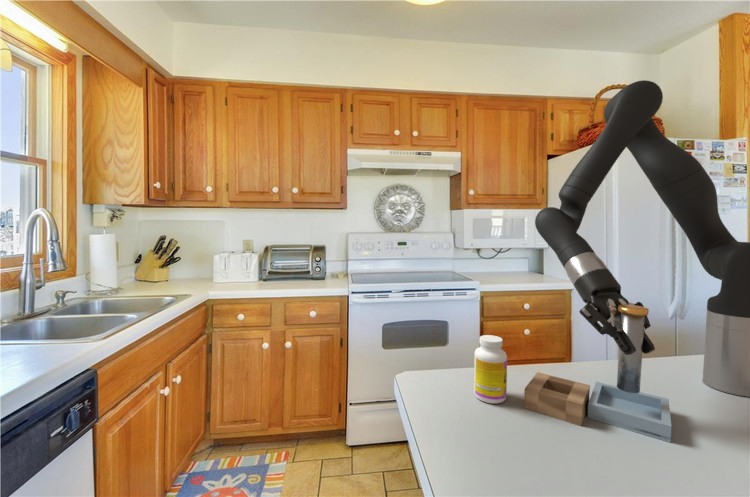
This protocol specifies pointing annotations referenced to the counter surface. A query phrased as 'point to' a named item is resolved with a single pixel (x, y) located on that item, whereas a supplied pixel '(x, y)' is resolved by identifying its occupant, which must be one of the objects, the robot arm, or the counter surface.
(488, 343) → the supplement bottle
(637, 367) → the pin
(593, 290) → the robot arm
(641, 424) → the tray
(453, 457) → the counter surface
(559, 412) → the socket block
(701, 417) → the counter surface
